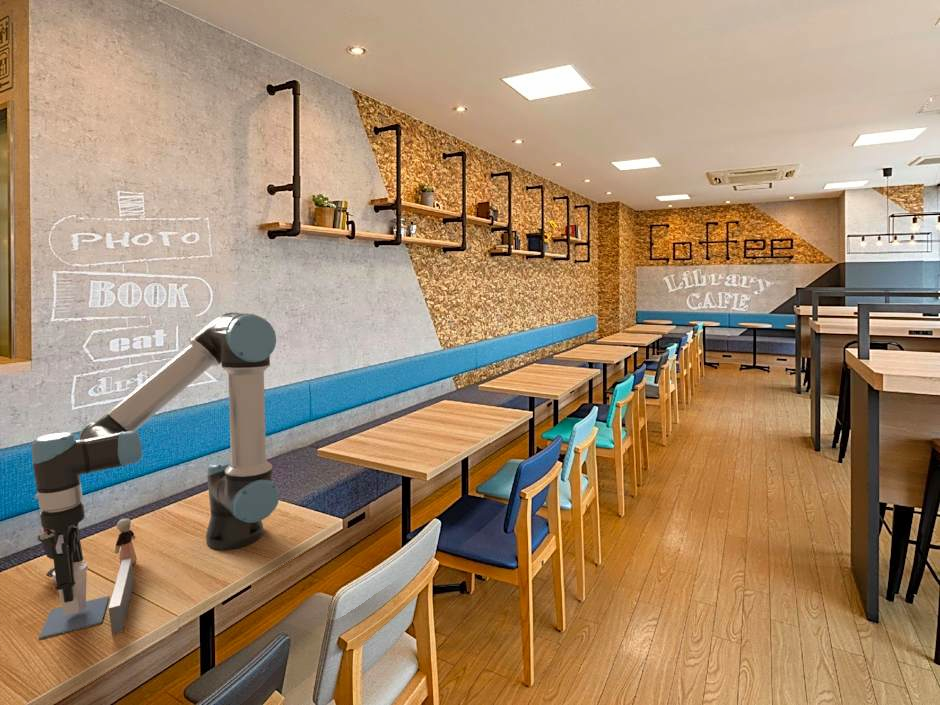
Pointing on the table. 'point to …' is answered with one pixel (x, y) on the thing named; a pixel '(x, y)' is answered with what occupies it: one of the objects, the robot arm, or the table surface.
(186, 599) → the table surface
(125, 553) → the grandmother figurine
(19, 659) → the table surface
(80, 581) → the smoothie
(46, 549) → the sundae
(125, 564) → the divider wall
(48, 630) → the mat
